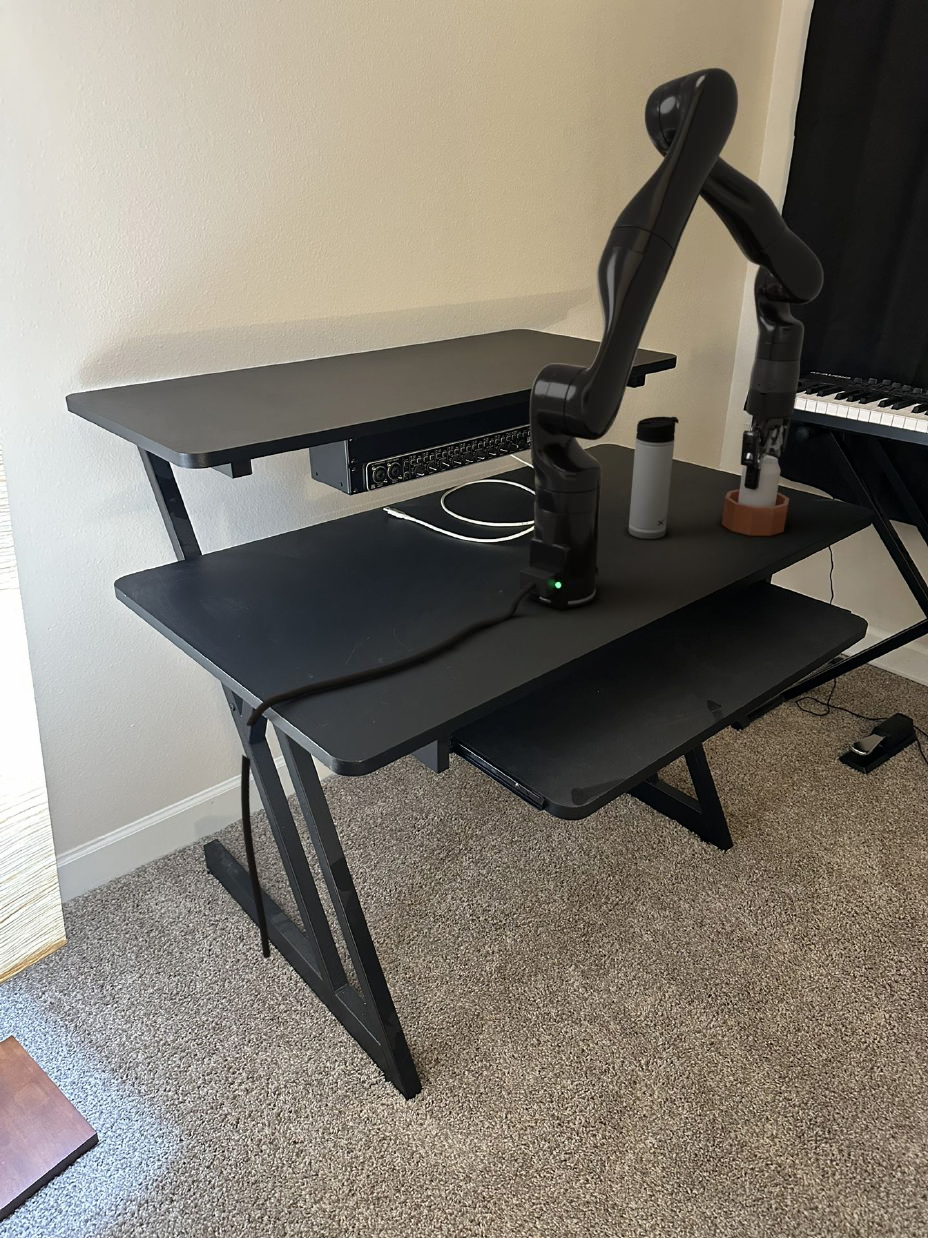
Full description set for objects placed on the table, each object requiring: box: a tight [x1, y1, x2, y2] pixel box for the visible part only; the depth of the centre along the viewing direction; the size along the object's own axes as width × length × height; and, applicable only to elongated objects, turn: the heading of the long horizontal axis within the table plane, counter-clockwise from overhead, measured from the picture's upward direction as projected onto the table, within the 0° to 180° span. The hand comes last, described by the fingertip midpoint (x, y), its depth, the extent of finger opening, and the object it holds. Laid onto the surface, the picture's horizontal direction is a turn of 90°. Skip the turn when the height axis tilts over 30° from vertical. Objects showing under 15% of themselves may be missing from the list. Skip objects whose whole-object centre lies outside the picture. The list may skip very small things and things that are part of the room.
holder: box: [721, 488, 790, 537], centre depth 157 cm, size 10×11×5 cm
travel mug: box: [628, 416, 679, 540], centre depth 151 cm, size 6×7×20 cm
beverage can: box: [738, 454, 781, 507], centre depth 155 cm, size 6×6×12 cm
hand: (759, 483), depth 154 cm, fingers closed on beverage can, 6 cm apart
